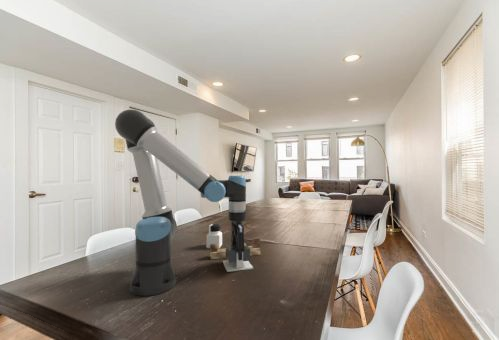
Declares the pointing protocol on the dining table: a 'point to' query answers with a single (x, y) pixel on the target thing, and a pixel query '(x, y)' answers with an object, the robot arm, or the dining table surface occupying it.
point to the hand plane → (221, 253)
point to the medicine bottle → (214, 235)
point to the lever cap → (232, 254)
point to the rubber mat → (233, 267)
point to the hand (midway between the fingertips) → (237, 263)
